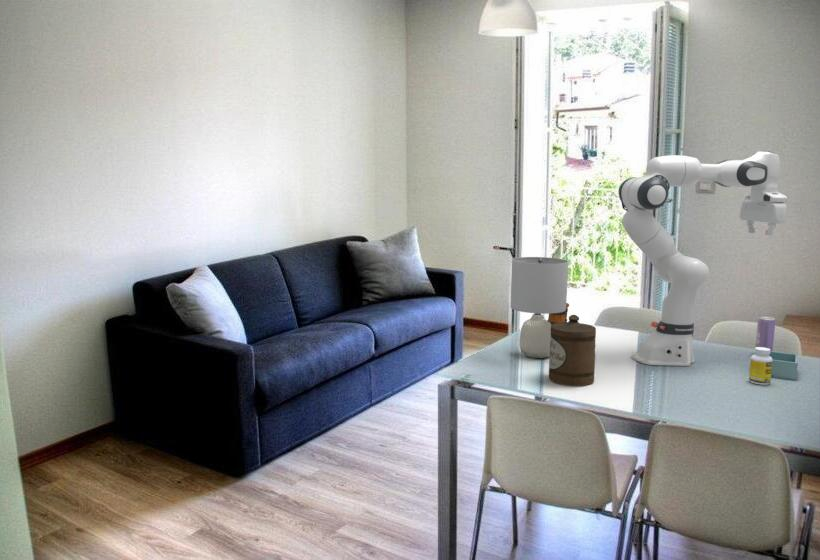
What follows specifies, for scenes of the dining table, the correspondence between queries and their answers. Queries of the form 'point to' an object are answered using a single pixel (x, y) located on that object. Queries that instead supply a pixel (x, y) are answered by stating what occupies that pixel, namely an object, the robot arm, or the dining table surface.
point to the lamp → (538, 299)
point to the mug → (558, 316)
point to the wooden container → (572, 353)
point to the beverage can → (765, 332)
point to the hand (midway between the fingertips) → (759, 234)
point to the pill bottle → (761, 366)
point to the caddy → (784, 365)
